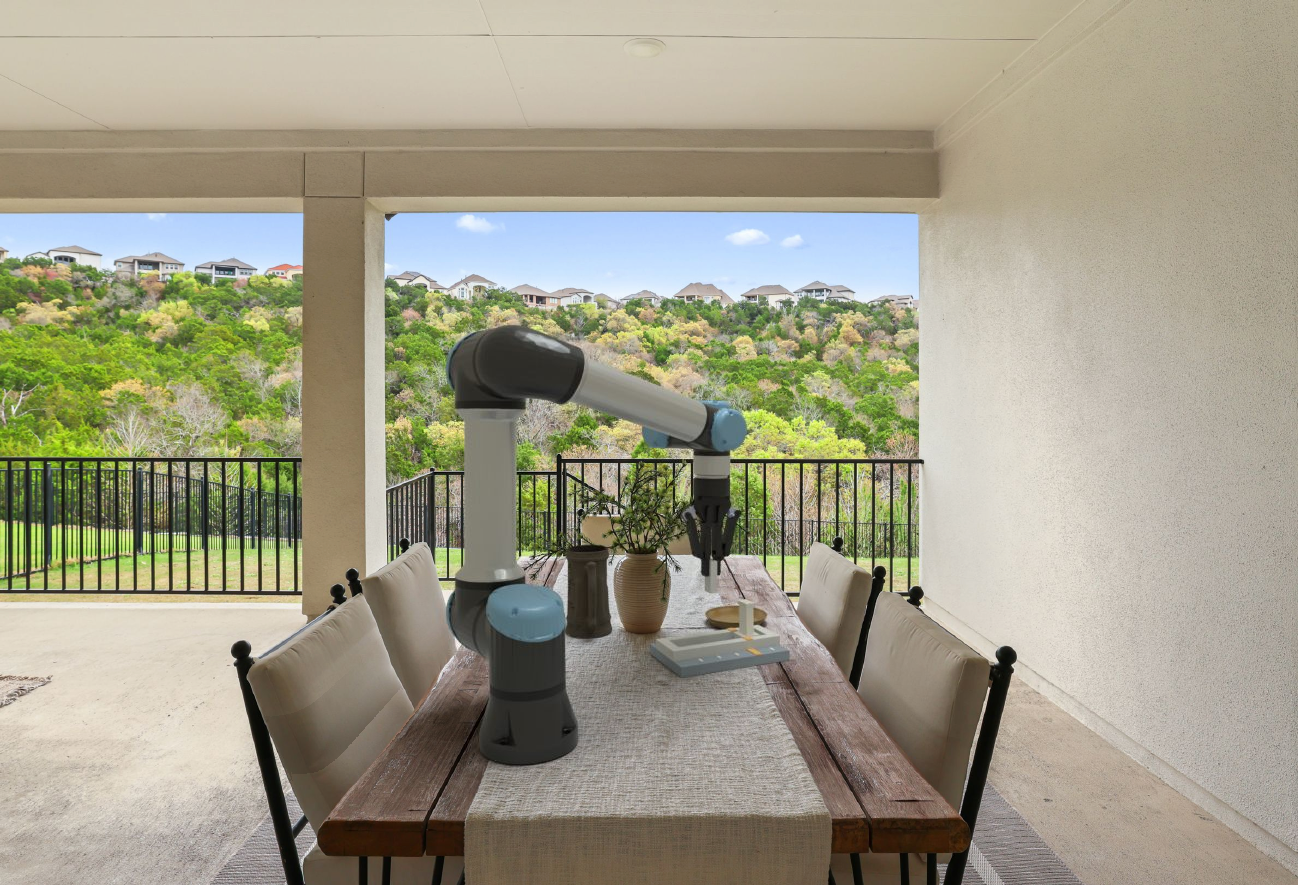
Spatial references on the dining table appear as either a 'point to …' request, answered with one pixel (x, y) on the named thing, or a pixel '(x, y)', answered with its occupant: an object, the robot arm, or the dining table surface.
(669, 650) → the console
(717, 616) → the plant saucer
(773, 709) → the dining table surface
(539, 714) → the robot arm
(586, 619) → the beer stein
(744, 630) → the fader tab
